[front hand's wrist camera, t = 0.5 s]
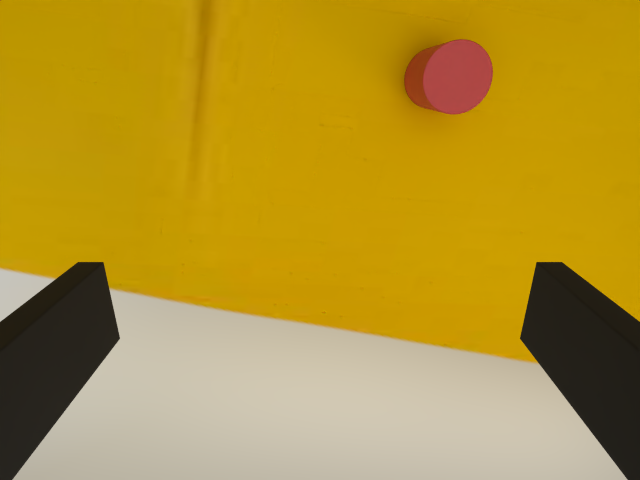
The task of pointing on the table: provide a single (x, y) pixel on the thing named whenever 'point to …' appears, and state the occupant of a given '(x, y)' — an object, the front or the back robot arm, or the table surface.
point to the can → (449, 77)
